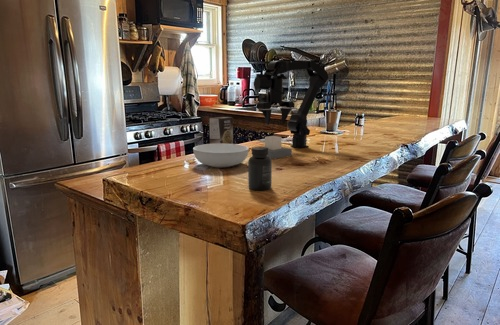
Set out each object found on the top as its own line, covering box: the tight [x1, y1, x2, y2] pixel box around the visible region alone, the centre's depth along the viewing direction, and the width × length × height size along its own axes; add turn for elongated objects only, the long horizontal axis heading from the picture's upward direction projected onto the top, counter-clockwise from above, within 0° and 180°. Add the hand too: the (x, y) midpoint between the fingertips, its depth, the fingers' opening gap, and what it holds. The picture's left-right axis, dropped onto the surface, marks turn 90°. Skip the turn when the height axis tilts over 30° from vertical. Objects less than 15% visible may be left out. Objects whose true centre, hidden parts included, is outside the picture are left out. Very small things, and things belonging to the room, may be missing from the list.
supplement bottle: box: [247, 146, 273, 192], centre depth 106 cm, size 7×7×12 cm
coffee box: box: [209, 116, 234, 144], centre depth 157 cm, size 9×6×16 cm
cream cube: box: [264, 135, 282, 150], centre depth 155 cm, size 5×5×5 cm
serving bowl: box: [192, 143, 250, 169], centre depth 137 cm, size 21×21×7 cm
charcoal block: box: [268, 146, 293, 160], centre depth 155 cm, size 11×11×4 cm
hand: (275, 123), depth 167 cm, fingers open, 9 cm apart
